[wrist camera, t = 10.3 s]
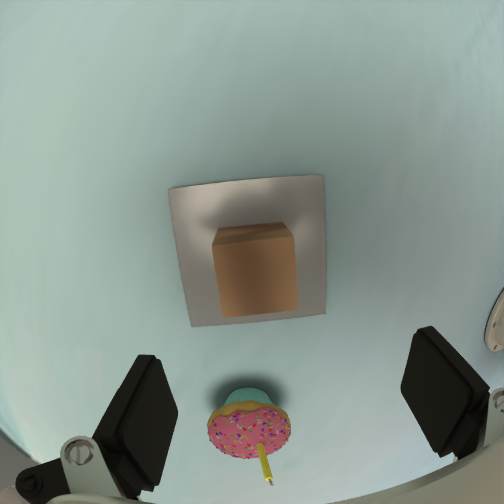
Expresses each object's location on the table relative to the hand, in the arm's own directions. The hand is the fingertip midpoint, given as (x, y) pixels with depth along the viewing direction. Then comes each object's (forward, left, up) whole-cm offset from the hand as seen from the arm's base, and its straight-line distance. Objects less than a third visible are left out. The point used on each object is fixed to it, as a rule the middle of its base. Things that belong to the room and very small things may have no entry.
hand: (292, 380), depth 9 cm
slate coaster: (+1, 0, -15) cm, 15 cm away
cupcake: (+3, +17, -16) cm, 23 cm away
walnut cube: (+1, 0, -14) cm, 14 cm away
